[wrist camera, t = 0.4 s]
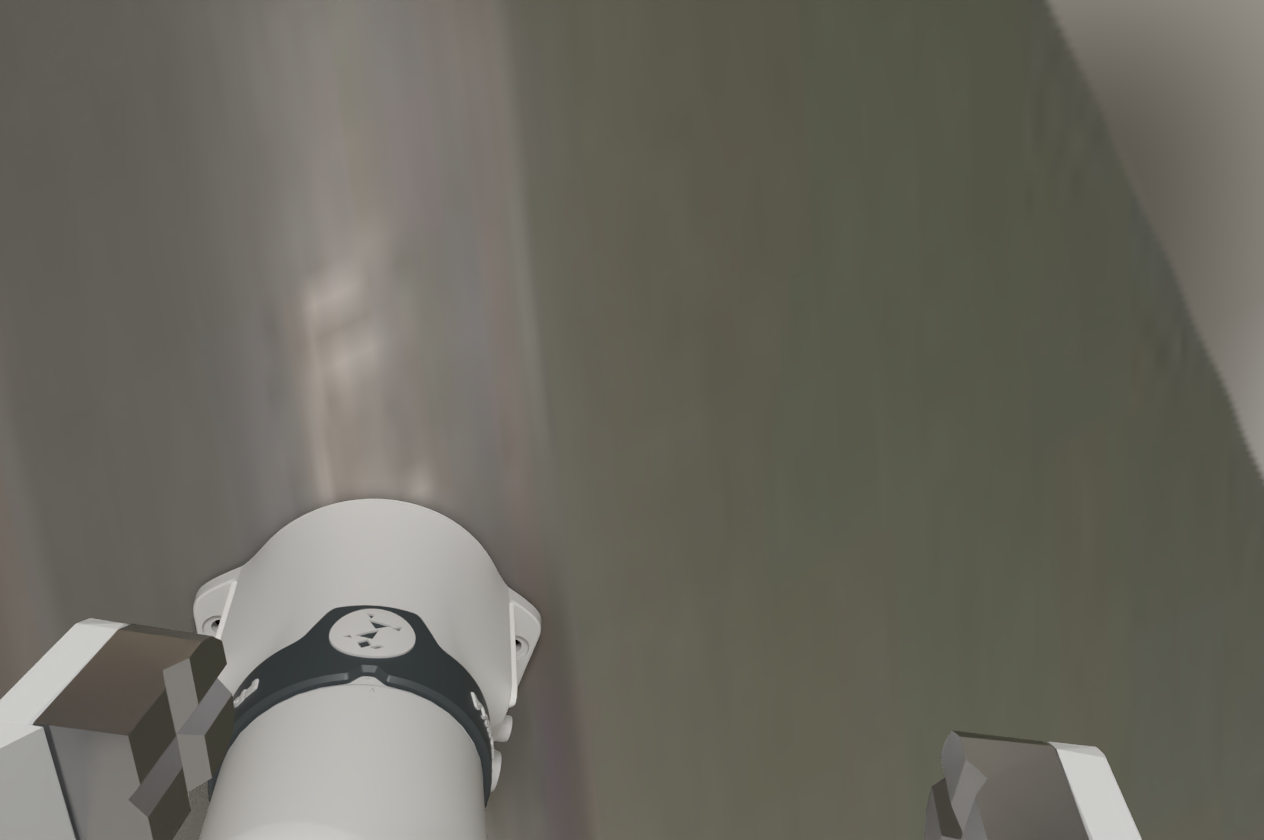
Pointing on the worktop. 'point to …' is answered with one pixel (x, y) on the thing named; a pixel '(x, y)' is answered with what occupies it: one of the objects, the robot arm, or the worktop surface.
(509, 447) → the worktop surface
